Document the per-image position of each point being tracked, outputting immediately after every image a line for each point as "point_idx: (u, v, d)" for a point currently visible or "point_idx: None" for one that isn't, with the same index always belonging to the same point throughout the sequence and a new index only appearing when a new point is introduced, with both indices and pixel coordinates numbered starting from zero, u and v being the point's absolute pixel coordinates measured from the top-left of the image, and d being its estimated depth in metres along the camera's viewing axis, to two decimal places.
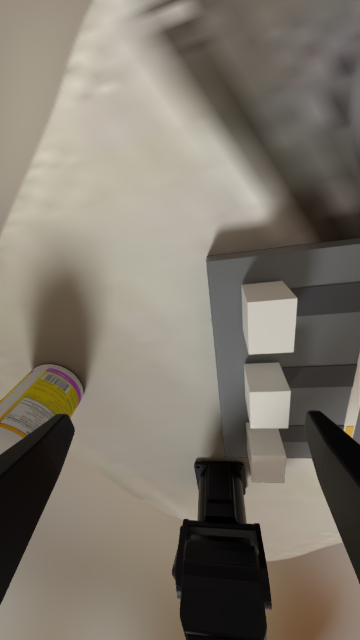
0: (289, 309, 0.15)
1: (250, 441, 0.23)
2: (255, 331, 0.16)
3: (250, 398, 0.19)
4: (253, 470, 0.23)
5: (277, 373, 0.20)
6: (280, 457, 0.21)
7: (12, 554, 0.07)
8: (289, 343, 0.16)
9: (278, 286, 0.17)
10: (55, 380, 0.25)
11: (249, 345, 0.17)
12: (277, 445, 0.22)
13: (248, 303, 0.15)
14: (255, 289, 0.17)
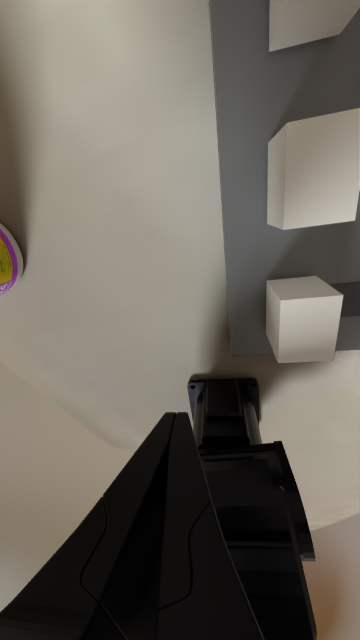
0: None
1: (276, 291, 0.14)
2: None
3: (287, 144, 0.10)
4: (282, 336, 0.13)
5: None
6: (333, 300, 0.12)
7: (157, 569, 0.06)
8: None
9: None
10: None
11: None
12: (324, 289, 0.13)
13: None
14: None
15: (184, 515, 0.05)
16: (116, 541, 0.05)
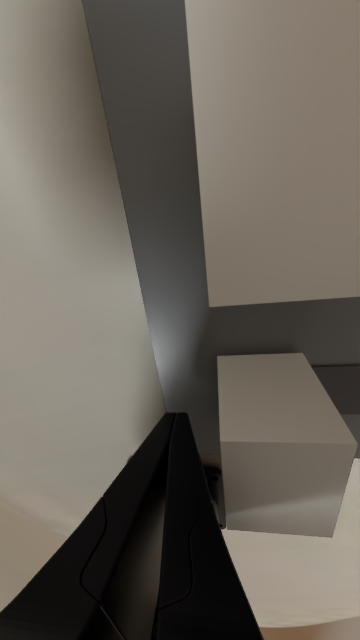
0: None
1: (223, 398, 0.07)
2: None
3: (194, 57, 0.03)
4: (230, 495, 0.07)
5: None
6: (335, 450, 0.05)
7: (157, 569, 0.06)
8: None
9: None
10: None
11: None
12: (315, 408, 0.06)
13: None
14: None
15: (183, 515, 0.05)
16: (116, 542, 0.05)
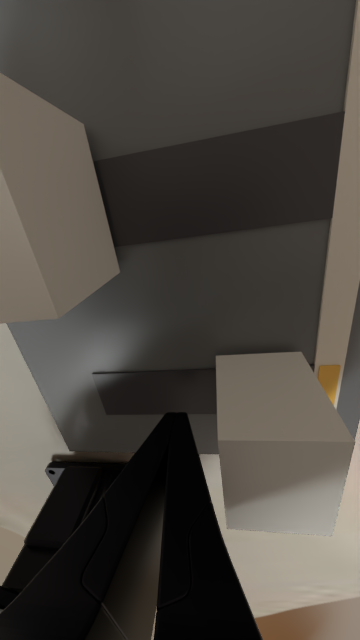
0: None
1: (221, 397, 0.07)
2: None
3: None
4: (230, 494, 0.07)
5: None
6: (332, 448, 0.05)
7: (158, 569, 0.06)
8: None
9: None
10: None
11: None
12: (313, 406, 0.06)
13: None
14: None
15: (182, 514, 0.05)
16: (117, 541, 0.05)
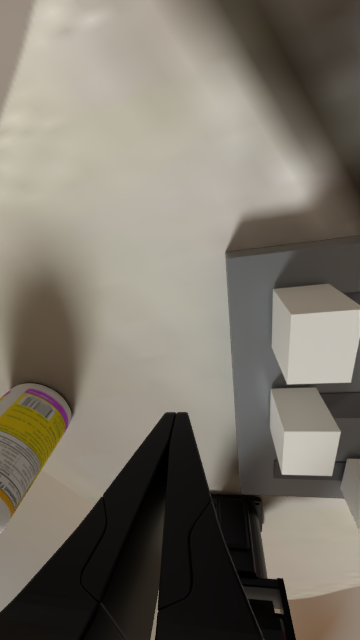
0: (351, 324, 0.11)
1: None
2: (299, 354, 0.12)
3: (284, 439, 0.14)
4: None
5: (317, 403, 0.15)
6: None
7: (157, 569, 0.06)
8: (346, 370, 0.12)
9: (327, 291, 0.13)
10: (36, 404, 0.21)
11: (288, 372, 0.12)
12: None
13: (292, 316, 0.11)
14: (295, 295, 0.13)
15: (184, 514, 0.05)
16: (116, 541, 0.05)
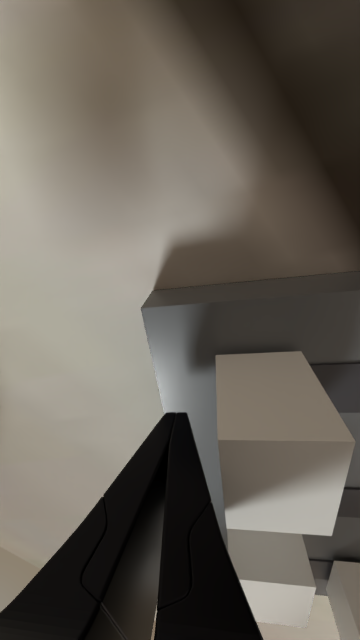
0: (329, 462, 0.06)
1: (356, 617, 0.12)
2: (240, 494, 0.07)
3: None
4: None
5: None
6: None
7: (158, 568, 0.06)
8: (323, 521, 0.07)
9: (294, 372, 0.08)
10: None
11: (226, 514, 0.07)
12: None
13: (220, 442, 0.06)
14: (242, 377, 0.08)
15: (183, 515, 0.05)
16: (116, 541, 0.05)
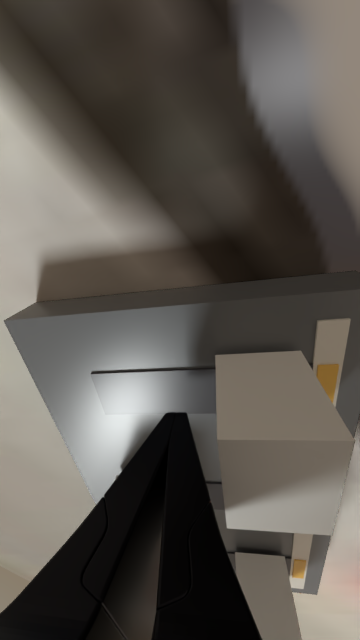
0: (329, 461, 0.06)
1: None
2: (240, 494, 0.07)
3: None
4: None
5: None
6: None
7: (158, 569, 0.06)
8: (323, 521, 0.07)
9: (294, 372, 0.08)
10: None
11: (226, 514, 0.07)
12: (288, 620, 0.13)
13: (219, 441, 0.06)
14: (242, 377, 0.08)
15: (182, 514, 0.05)
16: (116, 542, 0.05)
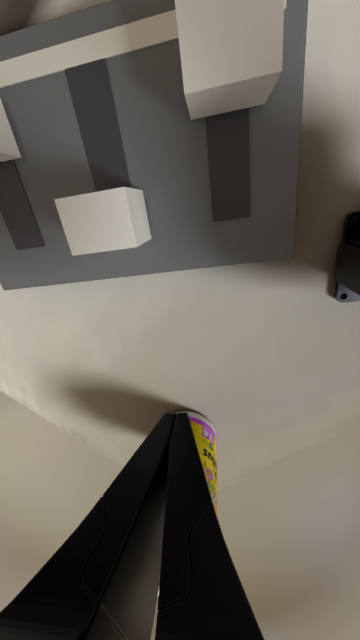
0: None
1: (187, 102, 0.12)
2: None
3: (83, 253, 0.14)
4: (237, 76, 0.10)
5: None
6: (181, 6, 0.09)
7: (157, 568, 0.06)
8: None
9: None
10: None
11: None
12: None
13: None
14: None
15: (183, 514, 0.05)
16: (115, 541, 0.05)
